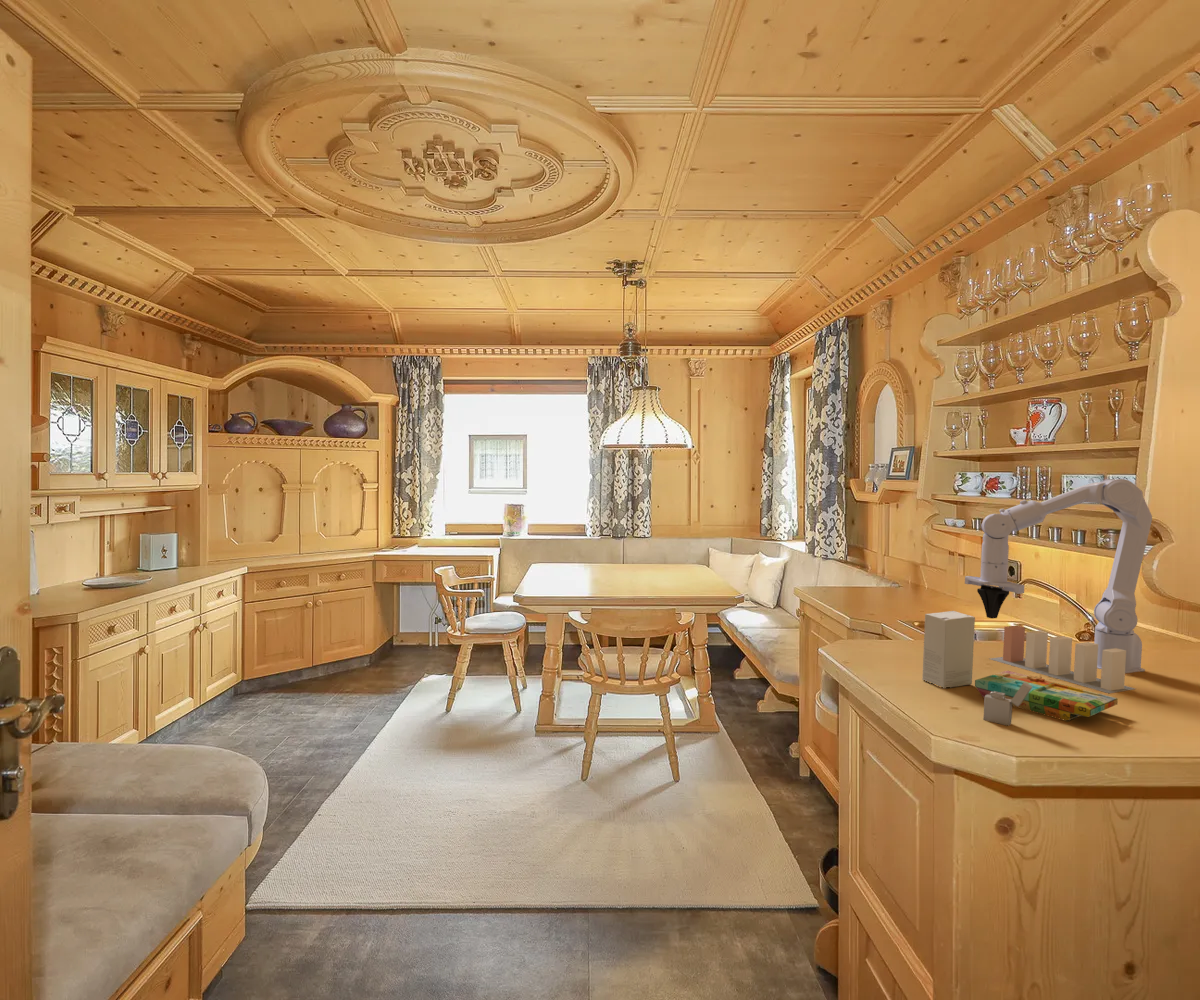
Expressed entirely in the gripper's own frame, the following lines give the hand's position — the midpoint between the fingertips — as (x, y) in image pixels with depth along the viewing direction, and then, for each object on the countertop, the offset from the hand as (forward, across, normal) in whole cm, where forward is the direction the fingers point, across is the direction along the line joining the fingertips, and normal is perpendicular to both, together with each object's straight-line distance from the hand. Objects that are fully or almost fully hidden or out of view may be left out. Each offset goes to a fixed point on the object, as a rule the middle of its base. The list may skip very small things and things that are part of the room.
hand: (991, 617), depth 168 cm
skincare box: (+10, +13, -30) cm, 34 cm away
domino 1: (+9, +6, 0) cm, 11 cm away
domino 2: (+9, +12, 0) cm, 15 cm away
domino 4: (+9, +22, 0) cm, 24 cm away
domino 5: (+9, +28, 0) cm, 29 cm away
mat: (+9, +16, 0) cm, 19 cm away
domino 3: (+9, +17, 0) cm, 19 cm away
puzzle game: (+10, +30, -25) cm, 40 cm away
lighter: (+10, +34, -40) cm, 53 cm away
